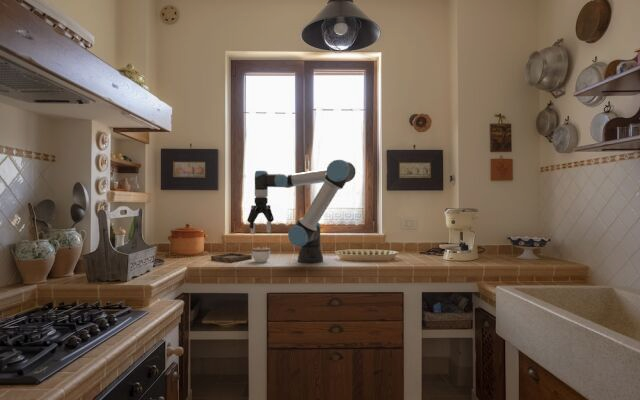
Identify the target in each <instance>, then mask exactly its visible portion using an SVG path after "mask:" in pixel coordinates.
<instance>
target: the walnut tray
mask: <svg viewBox="0 0 640 400" xmlns="http://www.w3.org/2000/svg"><path fill="white" fill-rule="evenodd" d="M210 260H211V261H215V262H223V263H228V262H229V263H230V264H233V263H238V262H243V261H249V260H253V256H252V254H245V253H239V252H228V253H223V254H222V253H221V254H216V255H211V256H210Z"/></svg>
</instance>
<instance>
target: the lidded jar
mask: <svg viewBox="0 0 640 400" xmlns="http://www.w3.org/2000/svg"><path fill="white" fill-rule="evenodd" d="M251 251H252V252H251V255H252V260H254V261H255V262H256V263H258V262H260V263H261V262H262V263H266V262H267V261H268V260H269V259H270V256H271V248H270V247H263V245H260V246H259V247H252V248H251Z"/></svg>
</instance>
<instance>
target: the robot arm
mask: <svg viewBox="0 0 640 400" xmlns="http://www.w3.org/2000/svg"><path fill="white" fill-rule="evenodd" d="M356 171H357V170H356V168H355V166H354V164H353V163H352V162H349V161H346V160H344V159H335V160H332V161H331V162H330V163H329V164H328V165H327V167H326V168H325V169H316V170H312V171H311V170H310V171H305V172H298V173H292V174H285V173H268V171H267V170H256V171H255V172H254V178H253V179H254V204H255V205H251V206H250V210H249V211H250V212H249V214H248V216H247V220H246V221H247V223H249V228H250V235H255V234H256V223H255V221H256V220H257V217H258V216H259V214H263V215H264V217H265V219H266V233H270V234H271V232H272V222H273V221H274V215H273V213H272V209H271V205H270V204H268V196H269V195H268V194H269V189H268V188H286V189H288V188H289V189H290V188H292V187H293V188H294V187H298V186H307V185H314V184H320V183H323V184H322V185H321V187H320V189H319V190H318V192H317V194H316V196H315V197H314V199H313V201H312V202H311V204H310V205H309V207H308V209H307V210H306V212H305V214H304V215H303V217H300V218H299V219H298V220H297V222H296V224H295V225H293V226H291V227H290V229H289V230H288V233H287V234H288V235H287V236H288V241H289V243H290V244H291V245H293V246H295V247H300V249H299V251H298V252H299V253H298V255H297V261H298V262H301V263H309V264H311V263H314V264H315V263H321V262H324V256H323V252H322V249H321V224H320V220H321V218H322V217H323V215H324V214H325V212H326V211H327V209H328V207H329V206H330V204H331V202H332V201H333V200H334V197H335V196H336V194H337V192H338V191H339V190H341V189H342V190H343V188H344V186H345V185H346V183H349V182H350V181H352V180H353V179H354V178H355V176H356Z"/></svg>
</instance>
